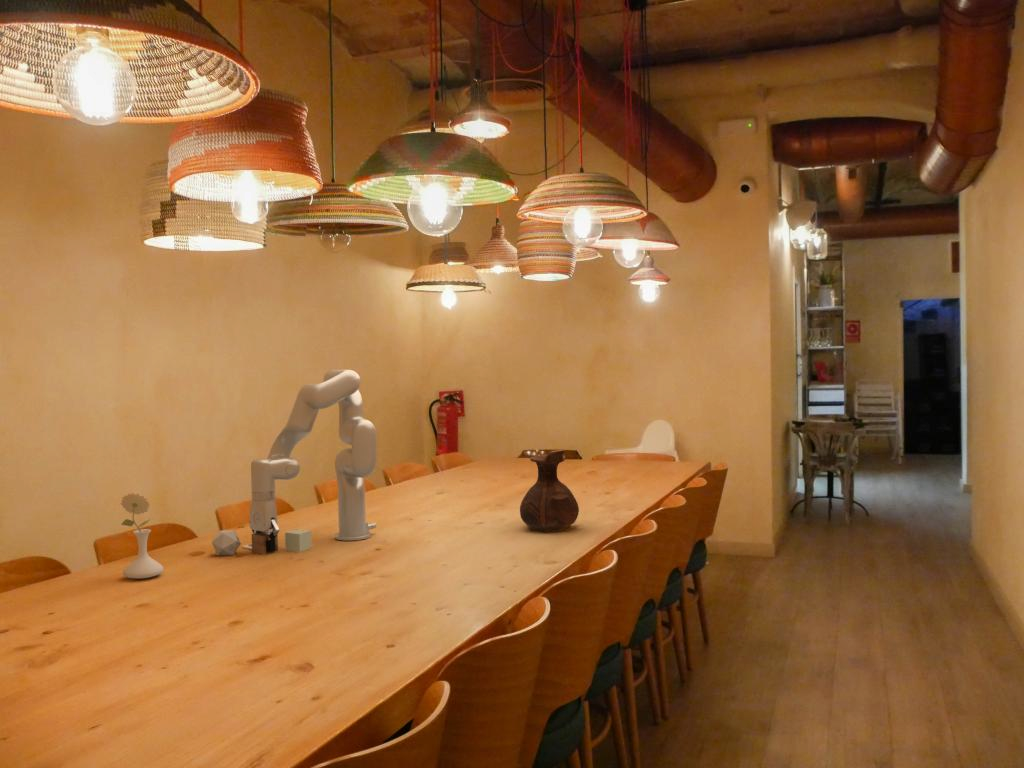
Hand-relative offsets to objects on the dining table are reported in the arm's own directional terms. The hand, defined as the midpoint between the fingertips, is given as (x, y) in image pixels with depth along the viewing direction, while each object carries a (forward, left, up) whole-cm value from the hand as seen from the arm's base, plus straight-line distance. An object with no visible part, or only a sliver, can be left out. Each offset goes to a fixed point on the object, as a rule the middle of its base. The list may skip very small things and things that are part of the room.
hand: (264, 549), depth 296 cm
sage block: (-9, +6, -1) cm, 11 cm away
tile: (-3, -8, -1) cm, 9 cm away
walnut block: (0, 0, -1) cm, 1 cm away
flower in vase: (+42, -1, -1) cm, 42 cm away
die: (+10, -7, -1) cm, 12 cm away
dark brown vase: (-85, +53, -1) cm, 100 cm away
